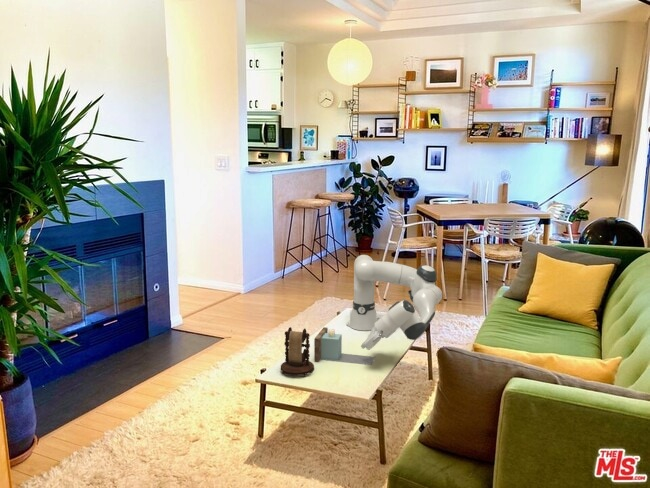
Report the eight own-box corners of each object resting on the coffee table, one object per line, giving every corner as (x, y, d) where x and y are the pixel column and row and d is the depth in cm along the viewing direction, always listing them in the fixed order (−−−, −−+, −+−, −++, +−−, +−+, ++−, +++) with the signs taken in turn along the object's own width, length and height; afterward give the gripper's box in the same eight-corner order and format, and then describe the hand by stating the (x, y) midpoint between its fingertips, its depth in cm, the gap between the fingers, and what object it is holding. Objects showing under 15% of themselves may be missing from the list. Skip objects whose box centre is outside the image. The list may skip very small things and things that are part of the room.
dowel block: (325, 352, 257) (325, 326, 254) (341, 354, 255) (341, 328, 252) (321, 358, 250) (321, 331, 248) (338, 360, 248) (338, 333, 246)
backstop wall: (323, 350, 262) (323, 327, 259) (327, 351, 261) (327, 327, 259) (314, 363, 246) (314, 338, 244) (318, 364, 246) (318, 339, 244)
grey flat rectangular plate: (325, 353, 258) (325, 351, 258) (375, 358, 252) (375, 356, 252) (320, 361, 249) (320, 359, 249) (371, 367, 243) (371, 365, 242)
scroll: (275, 376, 233) (275, 332, 229) (287, 363, 247) (286, 321, 243) (308, 380, 229) (308, 335, 226) (318, 366, 243) (317, 324, 240)
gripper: (385, 341, 233) (362, 360, 237) (391, 325, 252) (371, 343, 256) (375, 330, 233) (352, 349, 237) (382, 316, 252) (361, 334, 257)
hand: (362, 346), depth 247 cm, fingers closed
